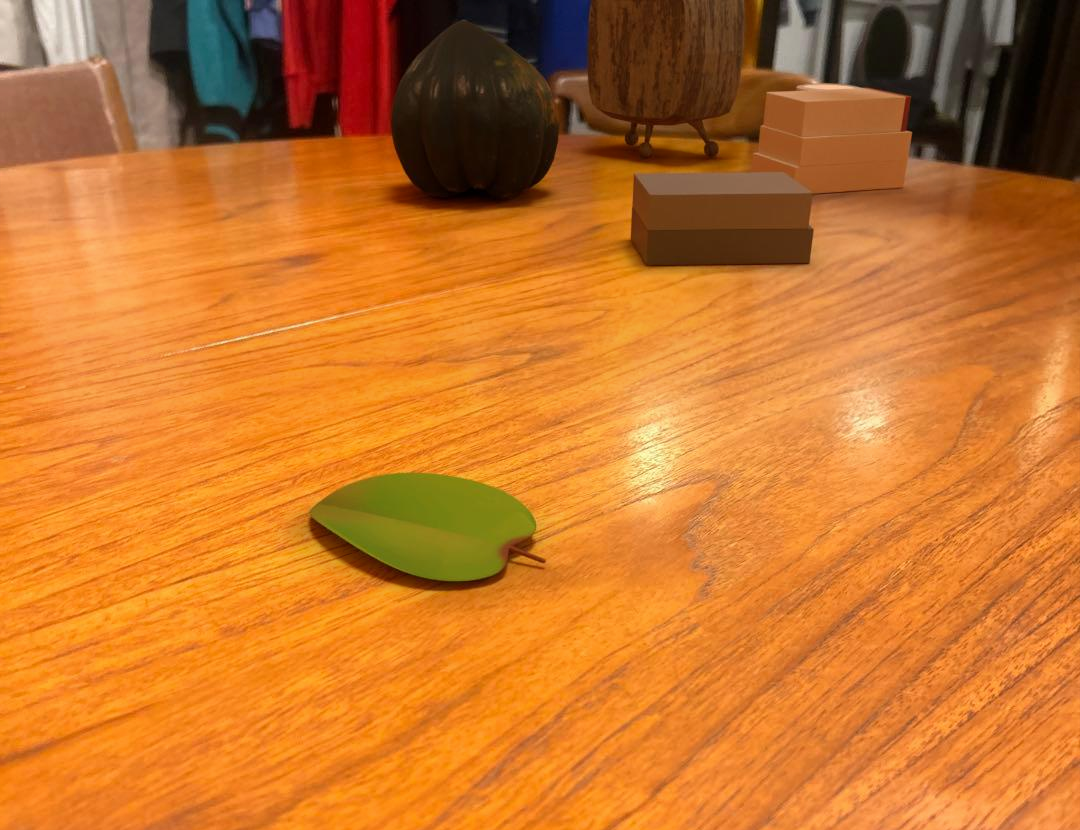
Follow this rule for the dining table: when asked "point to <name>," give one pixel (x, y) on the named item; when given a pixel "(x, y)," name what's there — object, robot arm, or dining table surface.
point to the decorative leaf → (429, 524)
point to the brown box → (721, 218)
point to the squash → (473, 117)
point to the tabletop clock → (665, 62)
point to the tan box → (836, 111)
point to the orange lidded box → (835, 159)
